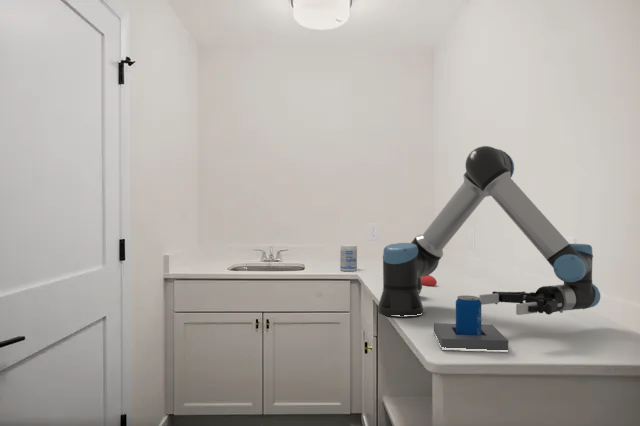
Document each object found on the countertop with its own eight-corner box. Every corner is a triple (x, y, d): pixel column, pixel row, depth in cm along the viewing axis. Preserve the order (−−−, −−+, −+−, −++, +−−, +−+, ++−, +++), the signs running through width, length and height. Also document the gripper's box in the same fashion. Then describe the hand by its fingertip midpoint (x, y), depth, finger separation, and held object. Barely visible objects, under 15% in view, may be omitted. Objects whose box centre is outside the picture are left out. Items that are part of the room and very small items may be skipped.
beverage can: (473, 347, 119) (472, 300, 119) (450, 342, 124) (450, 297, 124) (486, 342, 123) (486, 297, 123) (464, 337, 128) (464, 294, 128)
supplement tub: (347, 272, 262) (347, 246, 262) (337, 270, 270) (336, 245, 270) (360, 270, 268) (360, 245, 268) (350, 269, 276) (349, 244, 276)
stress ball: (424, 289, 212) (431, 278, 211) (415, 280, 220) (421, 268, 219) (432, 292, 215) (439, 281, 213) (423, 283, 223) (430, 271, 221)
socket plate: (433, 333, 132) (433, 323, 132) (492, 335, 130) (492, 324, 130) (441, 350, 116) (441, 338, 116) (508, 352, 114) (508, 340, 114)
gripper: (593, 321, 124) (535, 329, 116) (520, 303, 147) (466, 308, 139) (594, 293, 124) (535, 299, 116) (520, 279, 147) (466, 283, 139)
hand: (497, 304), depth 127 cm, fingers open, 13 cm apart
